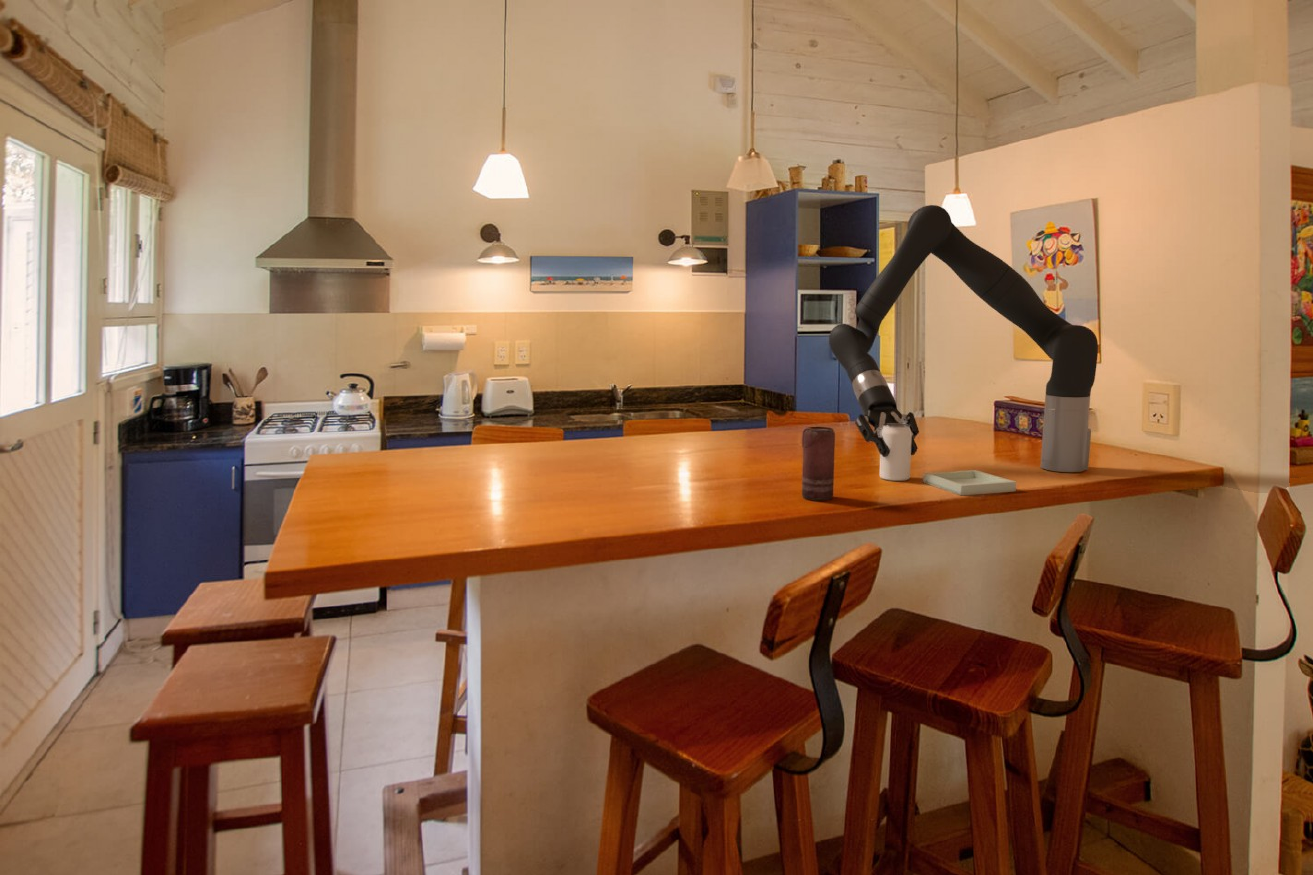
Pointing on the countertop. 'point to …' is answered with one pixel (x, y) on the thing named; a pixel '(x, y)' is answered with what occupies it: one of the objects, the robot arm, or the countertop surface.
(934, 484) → the tray
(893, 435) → the can
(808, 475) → the can
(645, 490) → the countertop surface
